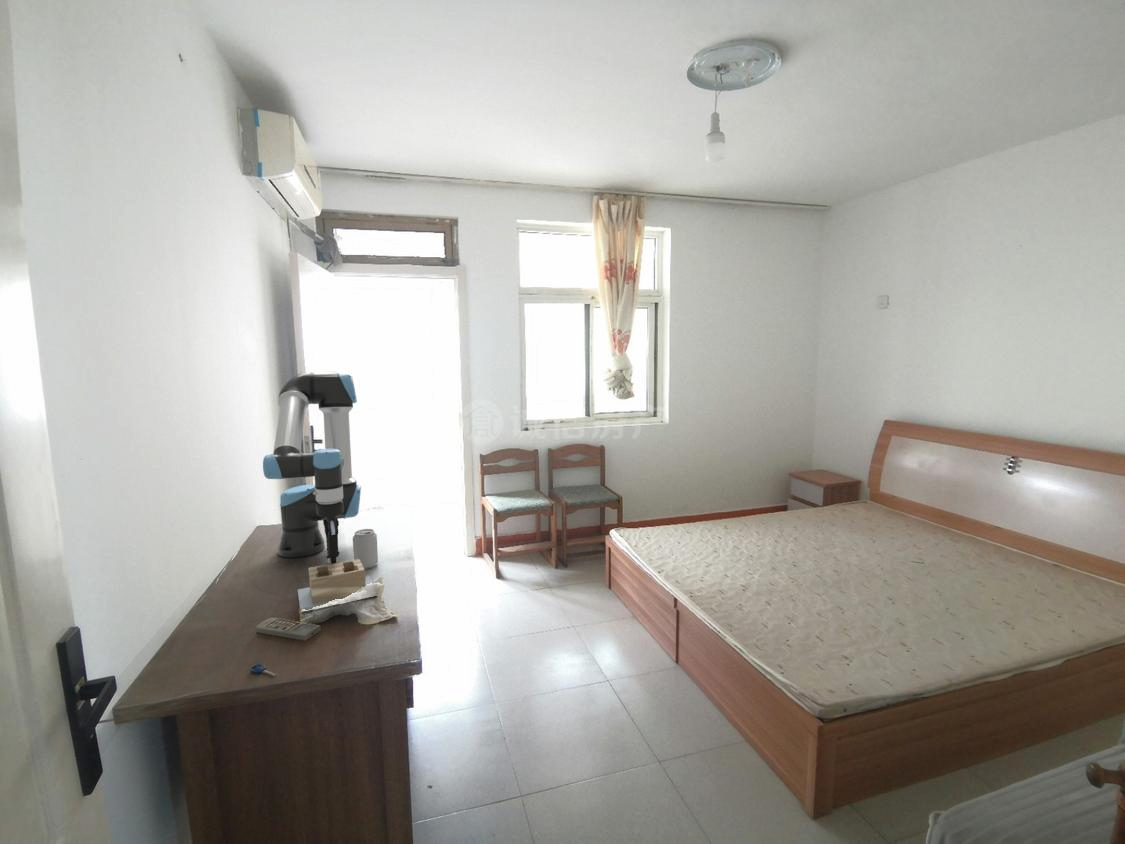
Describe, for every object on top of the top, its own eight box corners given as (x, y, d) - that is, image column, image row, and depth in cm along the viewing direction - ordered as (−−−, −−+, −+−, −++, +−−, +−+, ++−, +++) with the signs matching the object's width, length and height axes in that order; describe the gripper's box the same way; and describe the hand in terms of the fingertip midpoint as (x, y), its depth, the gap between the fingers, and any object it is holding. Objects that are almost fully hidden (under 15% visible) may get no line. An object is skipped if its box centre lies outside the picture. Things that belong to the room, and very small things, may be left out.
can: (370, 571, 170) (368, 535, 168) (349, 569, 171) (347, 534, 170) (382, 562, 177) (380, 528, 175) (362, 560, 178) (360, 527, 177)
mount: (297, 593, 153) (297, 579, 153) (369, 579, 163) (368, 566, 163) (300, 613, 141) (299, 598, 141) (377, 596, 151) (376, 582, 150)
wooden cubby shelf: (310, 590, 152) (308, 567, 151) (360, 580, 159) (359, 558, 158) (312, 604, 144) (311, 580, 143) (365, 593, 150) (364, 569, 150)
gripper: (314, 497, 159) (318, 571, 161) (317, 507, 147) (322, 587, 150) (340, 494, 162) (344, 567, 165) (345, 504, 151) (350, 581, 154)
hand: (334, 576), depth 158 cm, fingers closed
